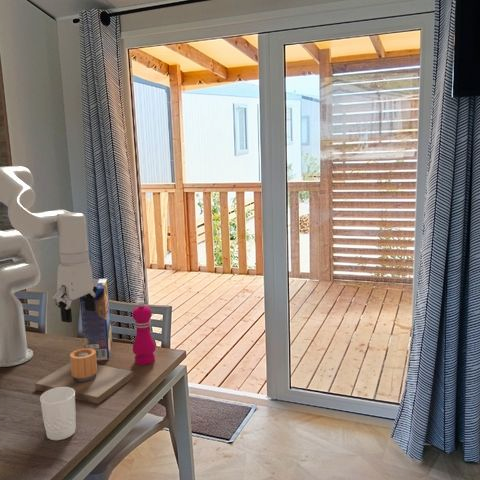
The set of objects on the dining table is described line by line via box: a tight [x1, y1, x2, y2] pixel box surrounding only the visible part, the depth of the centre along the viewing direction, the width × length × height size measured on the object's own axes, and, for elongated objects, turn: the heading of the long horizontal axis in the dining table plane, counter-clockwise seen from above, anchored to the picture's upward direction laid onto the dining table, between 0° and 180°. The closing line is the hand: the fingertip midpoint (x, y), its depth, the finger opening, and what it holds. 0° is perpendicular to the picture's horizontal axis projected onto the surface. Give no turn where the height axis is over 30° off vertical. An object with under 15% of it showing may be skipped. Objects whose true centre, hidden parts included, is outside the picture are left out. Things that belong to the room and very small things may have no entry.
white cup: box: [39, 387, 77, 441], centre depth 117 cm, size 8×8×10 cm
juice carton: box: [79, 277, 113, 361], centre depth 161 cm, size 12×8×24 cm, turn 9°
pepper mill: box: [132, 300, 157, 366], centre depth 155 cm, size 7×7×20 cm
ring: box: [69, 347, 98, 378], centre depth 141 cm, size 7×7×6 cm
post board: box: [34, 353, 134, 405], centre depth 142 cm, size 22×16×9 cm
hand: (78, 315), depth 139 cm, fingers open, 9 cm apart
